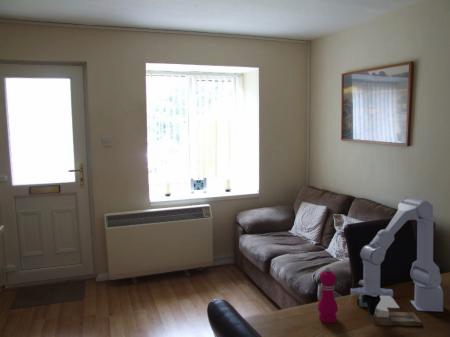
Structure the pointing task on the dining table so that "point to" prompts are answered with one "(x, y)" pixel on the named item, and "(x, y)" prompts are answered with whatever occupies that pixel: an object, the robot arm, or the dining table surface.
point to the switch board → (397, 319)
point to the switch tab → (382, 312)
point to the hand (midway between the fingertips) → (371, 313)
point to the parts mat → (387, 302)
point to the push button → (361, 296)
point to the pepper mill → (327, 297)
